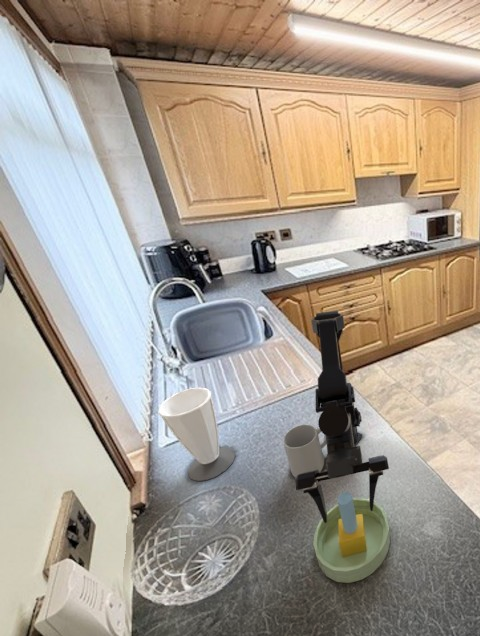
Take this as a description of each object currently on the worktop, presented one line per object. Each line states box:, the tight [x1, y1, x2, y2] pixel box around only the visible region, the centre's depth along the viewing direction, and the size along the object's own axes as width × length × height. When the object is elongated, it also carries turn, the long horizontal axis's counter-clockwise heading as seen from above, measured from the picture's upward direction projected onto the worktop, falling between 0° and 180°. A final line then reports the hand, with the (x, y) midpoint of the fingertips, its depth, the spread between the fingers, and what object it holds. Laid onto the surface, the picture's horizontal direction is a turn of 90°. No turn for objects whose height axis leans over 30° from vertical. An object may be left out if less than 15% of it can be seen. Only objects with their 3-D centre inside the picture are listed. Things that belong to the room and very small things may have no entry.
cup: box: [157, 386, 236, 482], centre depth 90 cm, size 12×12×22 cm
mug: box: [282, 423, 327, 478], centre depth 92 cm, size 12×8×11 cm
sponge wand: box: [337, 491, 367, 557], centre depth 71 cm, size 5×5×14 cm
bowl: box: [313, 497, 391, 584], centre depth 73 cm, size 15×15×4 cm
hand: (349, 516), depth 71 cm, fingers open, 9 cm apart
